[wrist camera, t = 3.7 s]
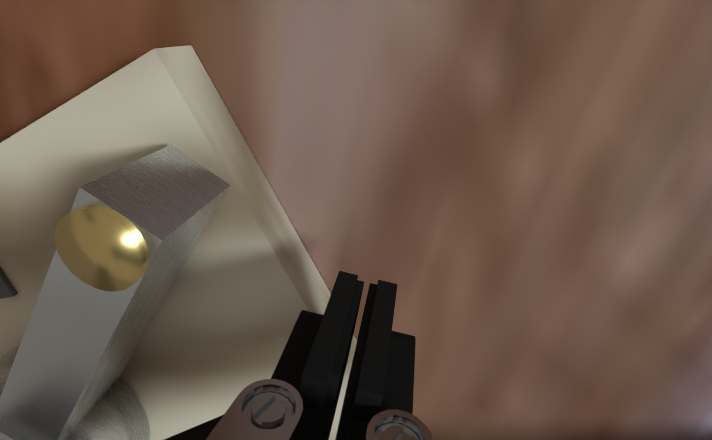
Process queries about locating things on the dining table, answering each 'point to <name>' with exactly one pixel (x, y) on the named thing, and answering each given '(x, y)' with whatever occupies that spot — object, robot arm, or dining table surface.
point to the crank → (104, 299)
